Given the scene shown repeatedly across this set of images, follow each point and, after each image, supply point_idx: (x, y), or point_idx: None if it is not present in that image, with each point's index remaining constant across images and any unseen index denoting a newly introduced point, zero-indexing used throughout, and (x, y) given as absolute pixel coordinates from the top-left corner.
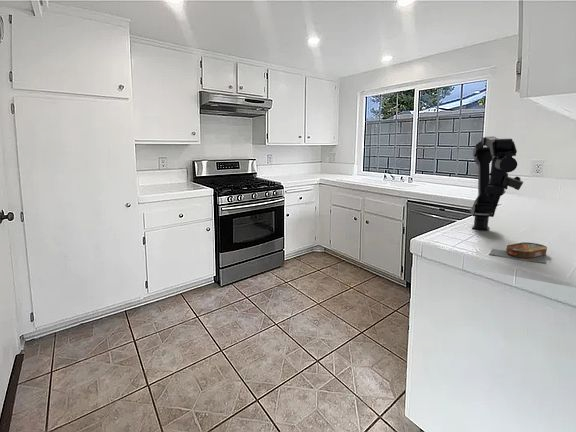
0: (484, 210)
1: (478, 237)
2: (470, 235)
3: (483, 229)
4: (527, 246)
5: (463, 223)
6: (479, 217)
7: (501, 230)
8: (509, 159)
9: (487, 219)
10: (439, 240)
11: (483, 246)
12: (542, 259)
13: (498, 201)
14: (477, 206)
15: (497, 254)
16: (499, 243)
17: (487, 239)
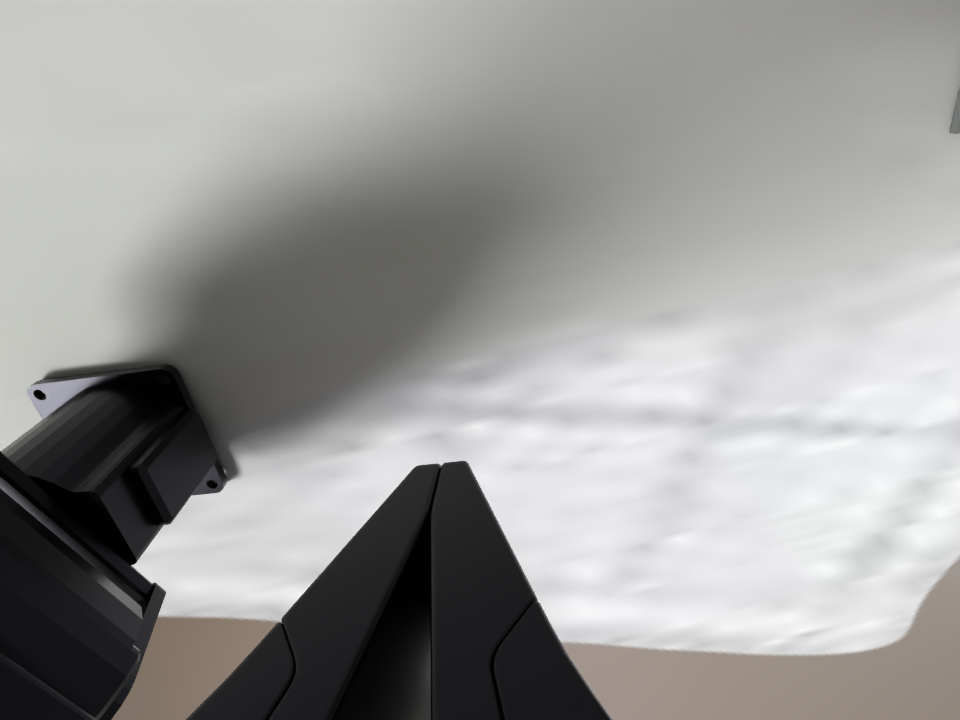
0: (69, 579)
1: (510, 359)
2: (482, 429)
3: (187, 401)
4: None
5: None
6: (131, 533)
7: (13, 259)
8: None
9: (59, 452)
10: (813, 550)
11: (853, 233)
12: None
13: (389, 588)
14: (107, 703)
15: None
16: (634, 130)
17: (535, 274)
